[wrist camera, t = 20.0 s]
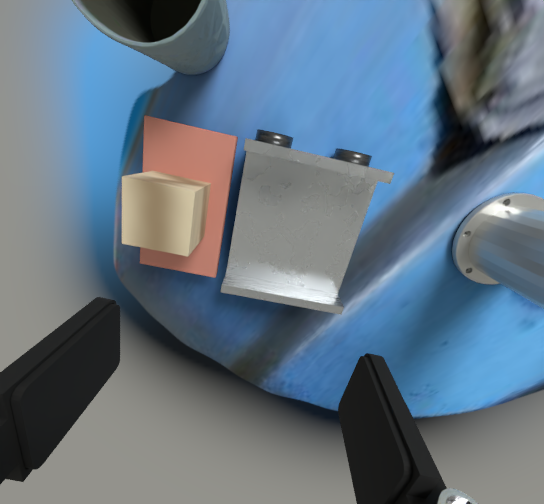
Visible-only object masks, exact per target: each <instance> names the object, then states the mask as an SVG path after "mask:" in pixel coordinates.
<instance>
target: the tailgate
mask: <svg viewBox="0 0 544 504" xmlns="http://www.w3.org/2000/svg"><path fill="white" fill-rule="evenodd" d="M237 139H238V137H236V136H231V135H227V134H223V133H218V132H214V131H210V130H206V129H201V128H197V127H193V126H189V125H184V124H180V123H176V122H171V121H167V120H163V119H159V118H154V117H150V116H146V115H144V143H143V173H144V172H149V171H157V172H161V173H166V174H171V175H175V176H180V177H184V178H189V179H193V180H198V181H202V182H207V183H211V187H210V195H209V203H208V211H207V219H206V227H205V235H204V237H203V239H202V240H201V241H200V242H199V244H198V245H197V246H196V247H195V249H194V250H193V251H192V252H191V254H190V255H189V256H183V255H178V254H173V253H168V252H162V251H157V250H152V249H147V248H142V247H140V263H141V264H146V265H151V266H157V267H162V268H167V269H172V270H177V271H183V272H188V273H193V274H198V275H204V276H209V277H214V278H215V277H216V275H217V270H218V264H219V257H220V251H221V244H222V238H223V231H224V224H225V218H226V211H227V205H228V198H229V192H230V185H231V179H232V172H233V165H234V159H235V152H236V146H237Z"/></svg>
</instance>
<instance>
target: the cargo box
mask: <svg viewBox="0 0 544 504" xmlns="http://www.w3.org/2000/svg"><path fill="white" fill-rule="evenodd" d="M210 187H211V183H207V182H202V181H198V180H193V179H189V178H184V177H180V176H175V175H171V174H166V173H161V172H157V171H149V172H144V173H138V174H132V175H127V176H122V244H127V245H132V246H137V247H142V248H147V249H152V250H157V251H162V252H168V253H173V254H178V255H183V256H189V255H190V254H191V252H192V251H193V250H194V249H195V247H196V246H197V245H198V244H199V242H200V241H201V240H202V239H203V237H204V235H205V227H206V219H207V211H208V203H209V195H210Z"/></svg>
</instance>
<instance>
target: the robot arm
mask: <svg viewBox="0 0 544 504" xmlns="http://www.w3.org/2000/svg"><path fill="white" fill-rule="evenodd" d="M452 256H453V260H454V263H455V265H456V267H457V269H458V270H459V271H460V272H461V273H462V274H463V275H464V276H466V277H467V278H469V279H470V280H472V281H475V282H477V283H481V284H493V285H494V284H502V285H504V286H506V287H507V288H509V289H511V290H512V291H514V292H516V293H517V294H519V295H521V296H523V297H524V298H526V299H528V300H529V301H531V302H533V303H535V304H536V305H538V306H540V307H541V308H543V309H544V199H543V198H541V197H538V196H535V195H532V194H526V193H508V194H503V195H500V196H497V197H494V198H492V199H490V200H488V201H486V202H484V203H483V204H481V205H480V206H478V207H477V208H476V209H474V210H473V211H472V212H471V213H470V214H469V215H468V216H467V217H466V219H465V220H464V221H463V222H462V224H461V225H460V227H459V229H458V231H457V232H456V235H455V238H454V241H453V247H452ZM119 362H120V307H119V305H116V301H114V300H110V299H106V298H101V297H97V298H95V299H94V300H93V301H91V302H90V303H89V304H88V305H86V306H85V307H84V308H82V309H81V310H80V311H79V312H77V313H76V314H75V315H73V316H72V317H71V318H70V319H68V320H67V321H66V322H65V323H63V324H62V325H61V326H59V327H58V328H57V329H55V330H54V331H53V332H52V333H50V334H49V335H48V336H47V337H45V338H44V339H43V340H41V341H40V342H39V343H38V344H36V345H35V346H34V347H33V348H31V349H30V350H29V351H27V352H26V353H25V354H24V355H22V356H21V357H20V358H18V359H17V360H16V361H14V362H13V363H12V364H11V365H9V366H8V367H7V368H6V369H4V370H3V371H2V372H0V484H1V483H2V482H3V481H4V480H5V479H10V480H15V481H21V482H23V481H24V480H25V479H26V477H27V476H28V475H29V474H30V472H31V471H32V470H33V469H38V468H39V467H40V466H41V465H42V464H43V463H44V462H45V461H46V459H47V458H48V457H49V455H50V454H51V453H52V452H53V450H54V449H55V448H56V447H57V445H58V444H59V443H60V441H61V440H62V439H63V437H64V436H65V435H66V434H67V432H68V431H69V430H70V428H71V427H72V426H73V424H74V423H75V422H76V421H77V419H78V418H79V416H80V415H81V414H82V413H83V412H84V410H85V409H86V408H87V406H88V405H89V404H90V402H91V401H92V400H93V399H94V397H95V396H96V395H97V393H98V392H99V391H100V389H101V388H102V387H103V386H104V384H105V383H106V382H107V380H108V379H109V378H110V376H111V375H112V374H113V373H114V371H115V370H116V368H117V367H118V365H119ZM338 413H339V418H340V423H341V428H342V433H343V438H344V443H345V447H346V452H347V457H348V462H349V467H350V472H351V476H352V482H353V487H354V491H355V496H356V501H357V504H478V503H477V502H476V501H474V500H473V499H472V498H471V497H469V496H468V495H466V494H465V493H463V492H461V491H459V490H456V489H450V488H446V486H445V484H444V482H443V480H442V478H441V476H440V474H439V471H438V469H437V467H436V465H435V463H434V461H433V459H432V457H431V455H430V453H429V451H428V449H427V446H426V445H425V442H424V440H423V438H422V436H421V434H420V432H419V430H418V428H417V426H416V424H415V421H414V419H413V417H412V415H411V413H410V411H409V409H408V407H407V405H406V403H405V402H404V400H403V398H402V395H401V393H400V391H399V389H398V387H397V385H396V383H395V381H394V379H393V377H392V375H391V372H390V370H389V368H388V366H387V364H386V362H385V360H384V358H383V357H382V356H378V355H373V354H368V353H367V354H365V355H364V356H361V357H360V358H359V360H358V363H357V365H356V367H355V369H354V372H353V374H352V376H351V378H350V380H349V383H348V385H347V387H346V389H345V392H344V394H343V396H342V398H341V401H340V403H339V407H338Z"/></svg>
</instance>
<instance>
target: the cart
mask: <svg viewBox="0 0 544 504" xmlns="http://www.w3.org/2000/svg"><path fill="white" fill-rule="evenodd" d="M292 141H293V138H292V137H289V136H285V135H282V134H278V133H274V132H269V131H264V130H257V134H256V140H251V139H247V138H246V140H245V146H244V150H245V151H246V157H245V163H244V169H243V175H242V181H241V187H240V193H239V199H238V205H237V211H236V217H235V223H234V229H233V235H232V241H231V247H230V253H229V259H228V265H227V271H226V275H225V277H224V280H223V283H222V287H221V292H222V293H227V294H233V295H238V296H244V297H249V298H255V299H260V300H265V301H271V302H276V303H282V304H287V305H293V306H298V307H303V308H309V309H314V310H320V311H325V312H331V313H336V314H342V311H343V308H344V306H343V304H342V302H341V300H340V298H339V295H338V291H339V288H340V286H341V283H342V280H343V277H344V274H345V272H346V269H347V266H348V263H349V260H350V258H351V255H352V252H353V249H354V246H355V243H356V241H357V238H358V235H359V232H360V229H361V227H362V224H363V221H364V218H365V215H366V213H367V210H368V207H369V204H370V201H371V199H372V196H373V193H374V190H375V187H376V184H377V182H378V181H380V182H384V183H389V184H390V183H391V180H392V178H393V175H394V173H392V172H388V171H383V170H379V169H375V168H371V167H368V166H369V163H370V160H371V157H372V156H369V155H366V154H362V153H358V152H353V151H349V150H343V149H336V151H335V154H334V158H333V159H332V158H328V157H324V156H319V155H315V154H311V153H306V152H302V151H298V150H294V149H291V145H292Z"/></svg>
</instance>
